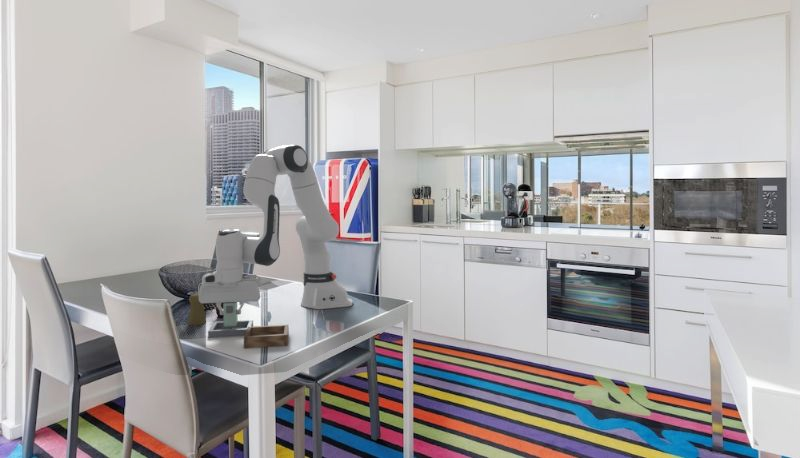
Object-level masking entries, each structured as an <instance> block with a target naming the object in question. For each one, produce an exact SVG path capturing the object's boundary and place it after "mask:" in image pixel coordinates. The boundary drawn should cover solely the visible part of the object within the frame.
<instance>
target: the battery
mask: <svg viewBox="0 0 800 458" xmlns="http://www.w3.org/2000/svg"><path fill="white" fill-rule="evenodd" d="M202 283H203V282H200V283H199V284H198V285H197V294H199V289H200V286H201V284H202ZM203 307H204V311H208V310H213V309H216V307H215V303H203Z"/></svg>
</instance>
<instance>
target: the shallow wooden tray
mask: <svg viewBox="0 0 800 458" xmlns="http://www.w3.org/2000/svg"><path fill="white" fill-rule="evenodd" d="M246 328H247V327H246ZM289 329H290V328H289V324H278V325H277V324H276V325H261V326H260V325H258V326H257V325H256V326H255V325H253V327H248V328H247V330H246V333H245V335H244V336H243V349H252V348H253V349H254V348H269V347H271V348H272V347H286V346H288V344H289V335H290V333H289V331H290V330H289Z"/></svg>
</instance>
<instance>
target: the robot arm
mask: <svg viewBox="0 0 800 458" xmlns="http://www.w3.org/2000/svg"><path fill="white" fill-rule="evenodd" d="M283 175H287V176H288V177H289V181H290V185H291V189H292V193H293V196H294V199H295V203H296V204H295V205H296V206H297V208H298V209H299V210H300V212H301V213H302V215H303V216H301V217H300V218H298V219H297V221H296V223H295V231H296V233H297V235H298V236H299V239H300V240H299V241H300V243H301V247H302V252H303V264H304V265H303V267H304V270H303V275H302V284H303V293H302V298H301V302H300V305H301V306H302V307H304V308H309V309H314V310H324V309H325V310H326V309H334V308H335V309H336V308H347V307H351V306H353V304H354V303H353V299H352V298H351V297H348V296H349V295H348V291H347V289H346V288H345V287H344V286H343V285H342V284H340V283H339V282H338V281H336V279H337V275H336V273H334V272H331V256H330V252H329V251H328V248H327V247H326V244H325V243H327V242H331V241H334V240H335V239H337V237H338V236H339V233H340V225H339V224H338V222H337V220H336V219H334V218H333V216H332V215H331V213H330V211H329V209H328V208H327V205H326V203H325V201H324V198H323V196H322V192H321V189H320V186H319V185H320V184H319V182H318V181H319V180H318V177H317V174H316V172H315V169H314V168H313V165H312V163H311V162H310V161H309V159H308V155H307V152H306V151H305V149H304V148H303V147H302V146H300V145H297V144H289V145H282V146H281V145H279V146H277V147H275V148H271V149H267V150H265V151H263V152H261V154H260V153H259V154H257V155H255V156H253V157H252V159H251V161H250V164H249V166H248V168H247V171H246V176H245V179H244V183H243V195H244V197H245V199H246V201H247V202H249V203H250V204H252V205H253V206H254V207H257V208H259V209H261V211H262V212H263V234H262V236H261V237H255V236H248V235H245V234H244V233H242V232H241V230H240V229H238V228H226V229H222V230H220V231H219V232H218V233H217V236H216V240H215V258H216V266H215V271H211V272H208V273H205V274H204V275H203V276H201V277H202V278H201V283H202V284H201V286H200V289H199V302H200V303H216V306H217V308H218V309H219V310H220V315H224V311H223V309H222V307H221V306H220V305H221V303H225V302H237V303H239V304H238V305H239V308H238V307H237V309H236V314H237V315H242V309H243V306H244V305H245V303H246V302H247V303H248V302H249V303H250V302H251V303H252V302H258V301H259V300H260V299H261V290H260V289H261V285H262V279H261V277H260V276H258V275H256V274H251V275H249V274H244V263H245V264H252V265H253V264H254V265H260V266H265V267H269V266H270V267H271V266H272V265H273V264H274V263H276V261H277V260H278V259H279V256H280V254H281V248H280V212H281V211H280V208H281V207H280V201H279V198H278V197H277V196H276V194H275V193H276V192H275V189H276V187H275V186H276V183H277V176H283Z"/></svg>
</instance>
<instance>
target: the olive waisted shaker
mask: <svg viewBox="0 0 800 458" xmlns="http://www.w3.org/2000/svg"><path fill="white" fill-rule="evenodd" d="M188 301H189V303H190V308H189V315H188V316H189V318H188V326H192V327H193V326H201V325H204V324H206V323H207V319H206V314H205V310H204V307H203V303H200V302H199V294H198V293H193V294H191V295H190V296H189V297H188Z"/></svg>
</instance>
